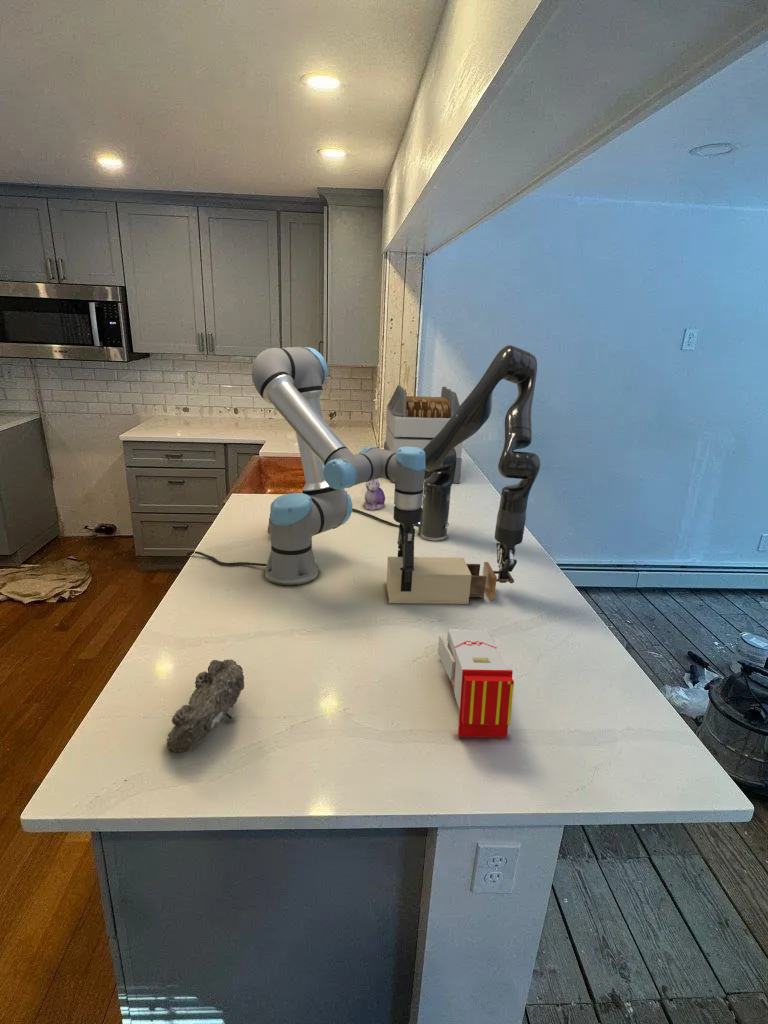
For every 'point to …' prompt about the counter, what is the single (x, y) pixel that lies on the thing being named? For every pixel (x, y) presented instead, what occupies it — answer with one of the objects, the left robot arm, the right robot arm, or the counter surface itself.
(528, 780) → the counter surface
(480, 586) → the drawer
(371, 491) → the figurine
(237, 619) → the counter surface
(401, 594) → the cabinet
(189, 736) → the fossil
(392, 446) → the transformer
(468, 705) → the toy
